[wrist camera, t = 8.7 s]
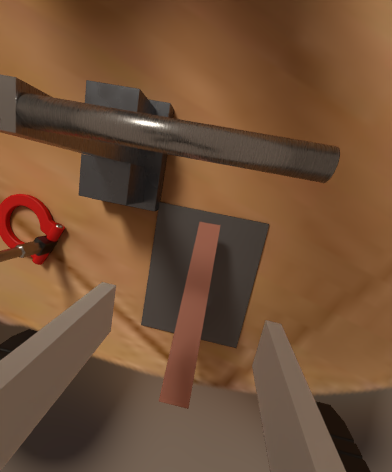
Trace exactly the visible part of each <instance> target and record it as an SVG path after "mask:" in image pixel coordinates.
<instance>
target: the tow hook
mask: <svg viewBox="0 0 392 472" xmlns="http://www.w3.org/2000/svg"><path fill="white" fill-rule="evenodd" d="M18 206H26V207H28V208H30V209H31V210H33V211H34V213H35V214H36V215H37V217H38V219H39V222H40V229H41V231H42V232H44V233H45V234H46V236H41V237H36V238H35V240H34V241H33V242H28V243H24V242H22V241H20V240H19V239H18V238H17V237H16V236H15V235H14V234H13V232H12V230H11V226H10V216H11V214H12V212H13V210H14V209H15V208H17V207H18ZM64 229H65V227H64V226H63V225H61V224H59V223H55V222H54V221H53V220H52V217H51V215H50V213H49V211H48V209H47V208H46V206H45V205H44V204H43V203H42V202H41V201H39V200H38V199H37V198H35V197H33V196H30V195H24V194H16V195H11V196H9V197H8V198H6V199H5V200H4V201H3V202H2V203H1V204H0V236H1V238H2V239H3V241H4V242H5V243H6V244H7V246H8V247H10V248H11V249H7V250H2V251H0V262H2V261H6V260H9V259H13V258H16V257H21V258H24V257H27V256H31V257H32V258H33V260H32V261H33V262H34V263H35V264H38V265H41V264H43V263H44V261H45V259H46V258H47V256H48V255H49V253H50V252H51V251H52V250H53V248H54V246H55V245H56V243H57V242H58V239H59V237H60V235H61V234H62V232H63V231H64Z"/></svg>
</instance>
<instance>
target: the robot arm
mask: <svg viewBox="0 0 392 472" xmlns="http://www.w3.org/2000/svg"><path fill="white" fill-rule="evenodd" d="M115 290H116V285H112V284H108V283H104V282H102V283H100V284H99V285H98V286H96V287H95V288H94V289H93V290H91V291H90V292H89V293H87V294H86V295H85V296H83V297H82V298H81V299H80V300H78V301H77V302H76V303H74V304H73V305H72V306H70V307H69V308H68V309H67V310H65V311H64V312H63V313H61V314H60V315H59V316H57V317H56V318H55V319H54V320H52V321H51V322H50V323H48V324H47V325H46V326H44V327H43V328H42V329H41V330H39V331H34V330H30V329H28V330H26V331H24V332H21V333H19V334H17V335H14V336H12V337H10V338H9V339H8V340H6V341H5V342H3V343H2V344H0V471H1V470H2V468H3V467H4V466H5V464H6V463H7V462H8V461H9V459H10V458H11V457H12V456H13V454H14V453H15V452H16V451H17V449H18V448H19V447H20V445H21V444H22V443H23V442H24V440H25V439H26V438H27V437H28V435H29V434H30V433H31V432H32V430H33V429H34V428H35V426H36V425H37V424H38V423H39V421H40V420H41V419H42V418H43V416H44V415H45V414H46V412H47V411H48V410H49V409H50V407H51V406H52V405H53V404H54V402H55V401H56V400H57V399H58V397H59V396H60V395H61V393H62V392H63V391H64V390H65V388H66V387H67V386H68V385H69V383H70V382H71V381H72V379H73V378H74V377H75V376H76V374H77V373H78V372H79V371H80V369H81V368H82V367H83V365H84V364H85V363H86V362H87V360H88V359H89V358H90V357H91V355H92V354H93V353H94V352H95V350H96V349H97V348H98V346H99V345H100V344H101V343H102V341H103V340H104V339H105V338H106V336H107V335H108V334H109V333H110V331H111V324H112V316H113V307H114V298H115ZM252 368H253V374H254V380H255V386H256V391H257V397H258V403H259V409H260V415H261V421H262V427H263V432H264V438H265V444H266V450H267V456H268V462H269V467H270V472H370V470H369V468H368V466H367V464H366V462H365V461H364V460H363V459H362V455H361V453H360V451H359V449H358V447H357V445H356V444H354V440H353V438H352V436H351V434H350V432H349V430H348V428H347V426H346V424H345V422H344V421H343V420H342V419H341V417H340V416H339V415H338V414H337V413H336V411H335V410H334V409H333V408H332V407H331V405H328V404H324V403H320V402H316V401H315V400H314V397H313V395H312V393H311V391H310V388H309V386H308V384H307V382H306V379H305V377H304V375H303V372H302V370H301V368H300V366H299V363H298V361H297V359H296V357H295V354H294V352H293V350H292V347H291V345H290V343H289V341H288V338H287V336H286V334H285V331H284V329H283V327H282V325H281V324H280V323H276V322H271V321H267V320H266V321H265V324H264V327H263V331H262V334H261V338H260V341H259V345H258V348H257V351H256V355H255V358H254V362H253V365H252Z"/></svg>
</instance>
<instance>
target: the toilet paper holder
mask: <svg viewBox="0 0 392 472" xmlns="http://www.w3.org/2000/svg"><path fill="white" fill-rule="evenodd" d="M173 114H174V109H173V107H172V105H171V104H170V103H166V102H160V101H154V100H148V99H147V97H146V96H145V95H144V94H143V93H142V91H141V90H140V89H136V88H130V87H124V86H118V85H112V84H106V83H100V82H94V81H88V80H86V95H85V103H82V102H76V101H70V100H64V99H58V98H53V97H51V96H49V95H47V94H46V93H44V92H42V91H40V90H38V89H36V88H35V87H33V86H31V85H29V84H27V83H25V82H24V81H22V80H20V79H18V78H16V77H11V76H5V75H0V132H1V133H5V134H9V135H13V136H17V137H21V138H25V139H29V140H32V141H36V142H40V143H44V144H48V145H52V146H56V147H59V148H63V149H67V150H71V151H75V152H79V153H83V154H81V168H80V183H79V196H84V197H89V198H92V199H97V200H102V201H107V202H112V203H117V204H121V205H126V206H131V207H136V208H141V209H146V210H151V211H157V210H158V209H159V203H160V200H161V193H162V187H163V180H164V174H165V167H166V160H167V154H170V155H175V156H180V157H186V158H191V159H197V160H202V161H208V162H213V163H218V164H224V165H229V166H235V167H240V168H245V169H251V170H256V171H262V172H267V173H272V174H278V175H283V176H289V177H294V178H299V179H305V180H310V181H316V182H321V183H325V182H327V181H328V180H329V179H330V178H331V177H332V175H333V174H334V172H335V170H336V167H337V165H338V162H339V157H340V150H339V148H338V147H336V146H331V145H325V144H319V143H313V142H307V141H302V140H296V139H290V138H284V137H278V136H273V135H267V134H261V133H255V132H249V131H244V130H238V129H232V128H226V127H221V126H215V125H209V124H203V123H197V122H192V121H186V120H180V119H174V118H173ZM84 154H86V155H84ZM89 155H90V156H89Z"/></svg>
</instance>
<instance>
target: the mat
mask: <svg viewBox="0 0 392 472" xmlns="http://www.w3.org/2000/svg"><path fill="white" fill-rule="evenodd" d="M199 222H204V223H210V224H216V225H220V231H219V237H218V242H217V248H216V254H215V259H214V265H213V271H212V277H211V282H210V288H209V294H208V299H207V305H206V311H205V317H204V322H203V328H202V334H201V340H205V341H209V342H213V343H217V344H221V345H226V346H230V347H234V348H236V347H237V344H238V340H239V336H240V332H241V329H242V325H243V321H244V317H245V314H246V310H247V306H248V302H249V299H250V295H251V291H252V287H253V284H254V280H255V276H256V272H257V269H258V265H259V261H260V257H261V254H262V250H263V246H264V242H265V239H266V235H267V231H268V227H269V224H266V223H261V222H256V221H251V220H246V219H241V218H236V217H231V216H226V215H221V214H216V213H211V212H206V211H202V210H197V209H192V208H187V207H182V206H177V205H172V204H167V203H162V202H160V203H159V209H158V216H157V223H156V229H155V236H154V243H153V249H152V256H151V263H150V269H149V276H148V283H147V289H146V296H145V303H144V309H143V316H142V323H141V325H144V326H148V327H152V328H156V329H160V330H164V331H168V332H172V333H174V332H175V328H176V323H177V319H178V315H179V310H180V306H181V301H182V297H183V293H184V288H185V284H186V280H187V275H188V271H189V266H190V262H191V258H192V253H193V249H194V244H195V240H196V236H197V231H198V227H199Z"/></svg>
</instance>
